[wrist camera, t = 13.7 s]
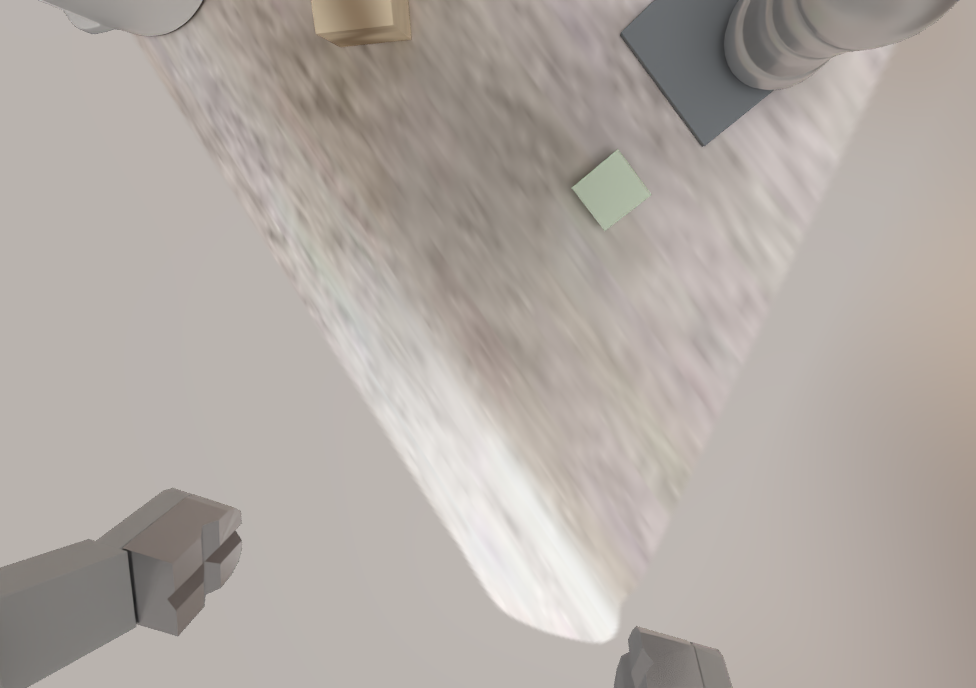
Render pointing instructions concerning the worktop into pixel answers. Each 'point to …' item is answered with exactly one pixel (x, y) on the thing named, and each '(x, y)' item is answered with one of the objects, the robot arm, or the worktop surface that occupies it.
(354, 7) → the beech brick
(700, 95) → the mat
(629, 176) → the sage brick
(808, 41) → the plastic bottle
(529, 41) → the worktop surface
